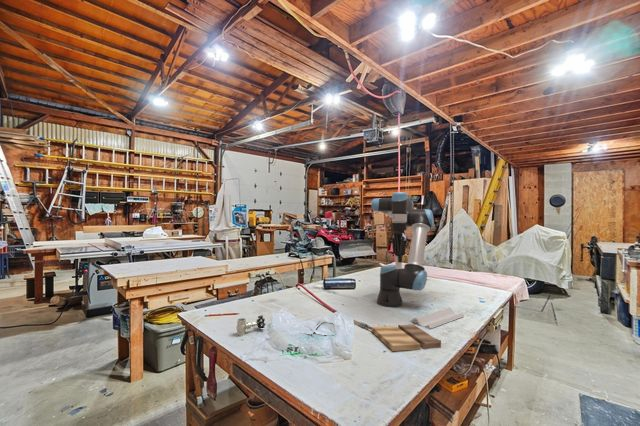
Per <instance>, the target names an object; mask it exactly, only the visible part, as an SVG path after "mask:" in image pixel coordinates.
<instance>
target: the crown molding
mask: <svg viewBox="0 0 640 426" xmlns="http://www.w3.org/2000/svg"><path fill="white" fill-rule="evenodd" d="M464 317H465V315H464V314H463V312H461V313H458V314H456V313H455V312H454V310H453V309H452V308H451V307H445V308H442V309H439V310H435V311H433V312H429V313H426V314H422V315H419V316H416V317H414V318H413V319H411V320H409V323H412V324H413V323H415V324H417V325H418V326H419V327H423V328H425V329H430V330H431V329H434V328H436V327H439V326H442V325H444V324H448V323H450V322H452V321H456V320H458V319H461V318H464Z"/></svg>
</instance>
